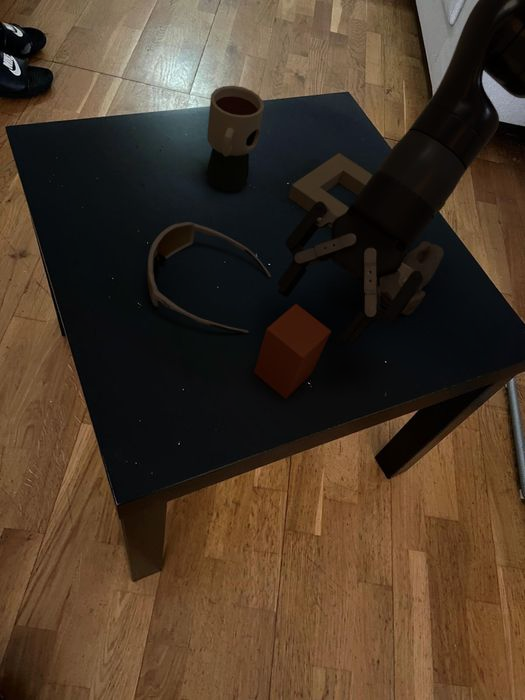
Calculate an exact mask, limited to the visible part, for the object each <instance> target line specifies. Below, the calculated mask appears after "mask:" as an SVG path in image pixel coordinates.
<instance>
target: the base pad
mask: <svg viewBox="0 0 525 700" xmlns="http://www.w3.org/2000/svg"><path fill="white" fill-rule="evenodd" d="M372 175H373V174H372V173H371V172H369V171H368V170H366V169H364V168H363V167H362V166H360V165H359V164H357V163H356V162H354V161H352V160H351V159H349V158H348V157H346V156H345V155H343V154H342V153H340V152H338V153H337V154H335V155H334V156H332V157H331V158H329V159H327V160H326V161H325V162H323V163H322V164H320V165H319V166H318V167H316V168H315V169H313V170H312V171H310V172H309V173H307V174H305V175H304V176H302V177H301V178H299V179H298V180H297V181H295V182H294V183H292V184H291V187H290V191H289V194H288V199H290V200H291V201H292V202H294V203H295V204H297V205H298V206H299V207H301V208H302V209H304V210H305V211H306V212H307V213H308V212H309V211H310V210H311V208H312V207H313V206H314V205H315V203H317V202H319V201H321V202H323V203H324V204H325V205H326V206H327V207H328V208H329V209H330V211H331V212H333V213H334V214H335V215H336V216H338V217H339V216H341V215H343V214H344V213H346V212H347V210H348V209H349V207H350V206H348V205H346V204H345V203H343V202H341V200H339V199H338V198H335V197H334V196H333V195H332V194H330V193H329V191H330V190H331V189H333V187H335V186H337V185H338V184H340V185H341V186H342V187H344V188H345V189H346V190H348V191H350V192H351V193H353V194H354V195H356V197H357V196H358V195H359V193H360V192H361V191H362V189H363V188H364V187H365V185H366V184H367V182H368V181H369V180H370V178H371V177H372ZM327 227H329V228H330V229H332V224H329V225H327Z"/></svg>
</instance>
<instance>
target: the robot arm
mask: <svg viewBox="0 0 525 700" xmlns="http://www.w3.org/2000/svg"><path fill="white" fill-rule="evenodd" d="M484 73H486V74H487V75H488V76H489V77H490V78H491V79H492V80H493V81H495V82H496V83H497V84H498V85H499V86H500V87H501V88H503V89H504V90H505V92H507V93H508V94H509V95H511V96H512V97H514V98H516V99H517V98H518V99H525V0H478V1H476V3H475V5H474V6H473V8H472V10H471V11H470V13H469V14H468V17H467V19H466V21H465V23H464V26H463V28H462V30H461V33H460V35H459V37H458V40H457V43H456V45H455V49H454V51H453V53H452V56H451V59H450V61H449V63H448V66H447V68H446V69H445V72H444V74H443V76H442V79H441V80H440V83H439V84H438V86H437V88H436V90H435V92H434V93H433V95H432V96H431V98H430V100H429V101H428V102H427V104H426V105H425V106H424V108H423V109H422V111H421V112H420V114H419V115H418V116H417V117H416V119H415V120H414V122H413V123H412V124H411V125H410V127H409V129H408V130H407V131H406V132H405V134H404V135H403V136H402V137H401V138H400V139H399V140H398V141H397V143H396V144H395V145H393V147H392V148H391V150H390V151H389V152H388V153H387V154H386V155H385V158H384V159H383V160H382V162H381V163H380V164H379V165H378V167H377V168H376V170H375V171H374V172H373V174H372V177H371V178H370V180H369V181H368V182H367V184H366V185H365V187H364V188H363V189H362V191H361V192H360V193H359V195H358V196H357V195H356V198H355V199H354V200H353V202H352V203H351V205H350V206H348V207H349V209H348V210H347V212H346V213H344V214H343V215H341V216H339V217H338V216H336V215H335V214H334V213H333V212H331V211H330V209H329V208H328V207H327V206H326V205H325V204H324V203H323V202H321V201H319V202H317V203H315V205H314V206H313V207H312V208H311V210H310V211H309V212H308V211H307V213H306V215H305V216H304V217H303V218H302V220H301V221H300V222H299V223H298V225H297V226H296V227H295V229H294V230H293V231H292V232H291V234H290V235H289V236H288V237H287V239H286V240H285V243H284V244H285V247H286V248H287V249H288V251H289V252H290V254H291V255H292V261H291V262H290V264H289V265H288V267H287V268H286V270H285V271H284V272H283V274H282V276H281V277H279V280H278V283H277V286H279V287H278V290H277V293H278V294H280V295H281V296H282V297H286V298H287V297H289V296H290V295H291V293H292V292H293V291H294V290H295V288H296V286H297V285H298V284H299V282H300V281H301V279H302V278H303V277H304V276H305V274H306V272H307V271H308V269H306V268H307V267H308V266H312V265H315V264H317V263H321V262H327V261H330V260H332V261H333V264H335V265H336V266H338V267H339V268H340V269H343V270H345V271H347V272H348V274H349V275H350V276H351V277H353V278H354V279H355V280H357V281H358V282H362V283H363V289H364V290H363V293H364V310H363V311H359V312H358V314H357V315H356V316H355V318H353V320H352V321H351V323H350V324H349V325H348V327H347V328H346V329H345V330H344V332H343V333H342V334H341V336H340V337H339V338H338V342H340V343H342V344H343V345H347V344H348V343H351V344H353V343H355V342H357V341H358V340H360V338H361V337H362V336H363V334H364V333H365V332H366V331H367V329H368V328H369V327H370V326H371V324H372V323H373V322H374V321H377V320H378V321H382V322H385V323H387V324H394V323H396V321H398V319H399V317H400V316H401V315H402V311H403V310H404V309H405V307H406V306H407V304H408V303H409V301H410V300H411V299H412V297H413V296H414V294H415V293H416V291H417V290H418V288H419V287H420V286H421V284H422V283H423V281H424V276H423V274H422V273H421V272H420V271H415V270H413V269H412V268H410V267H409V266H407V265H405V264H404V263H403V259H404V257H405V256H406V255H407V254H408V251H409V250H410V249H411V248H412V246H413V245H414V244H415V243H416V241H417V240H418V238H419V237H420V236H421V234H422V233H423V232H424V230H425V229H426V228H427V227H428V225H429V224H430V223H431V221H432V220H433V219H434V218H435V216H436V215H437V213H438V212H440V211H441V210H442V209H443V207H445V205H446V202H447V200H449V198H450V197H451V195H452V194H453V192H454V191H455V189H456V187H457V186H458V184H459V182H460V181H461V179H462V178H463V176H464V174H465V173H466V171H467V170H468V169H469V168H470V166H471V165H472V164H473V162H474V161H475V160H476V158H477V157H478V156H479V155H480V153H481V152H482V151H483V150H484V148H485V147H486V146H487V144H488V143H489V142H490V141H491V139H492V138H493V136H494V135H495V133H496V132H497V130H498V128H499V126H500V125H499V124H500V115H499V112H498V111H497V108H496V107H495V105H494V103H493V102H492V101H491V98H490V97H489V95H488V93H487V91H486V90H485V87H484V84H483V76H484ZM329 224H332V228H331V239H330V240H327V241H325V242H322V243H318V244H316V245H314V246H313V247H311V248H307V249H305V248H304V247H305V246H306V245H307V243H308V242H309V241H310V240H311V239H312V237H313V236H314V235H315V234H316V232H317V231H318V230H319V229H325V228H326V227H328V225H329ZM397 271H398V272H399V273H400V278H399V280H398V283H399V285H400V286H401V289H400V290H399V292H398V293H397V295H396V296H395V297H394V299H393V300H392V302H391V303H390V305H389V306H388V308H383V307H381V304H380V293H381V277H383V276H386V275H390V274H393V273H395V272H397Z"/></svg>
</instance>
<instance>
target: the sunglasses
mask: <svg viewBox="0 0 525 700" xmlns="http://www.w3.org/2000/svg"><path fill="white" fill-rule="evenodd" d="M196 232H198V233H201V234H204V235H205V236H212V237H213V236H214V237H218V238H220V239H223V240H225V241H226V242H229V243H230V244H231V245H233V246H234V247H236V248H237V249H239V250H241V251H243V252H245V254H247V255H248V256H249V257H250V258H251V259H253V261H255V262H256V264H257V266H259V268H260V269H261V270H262V271H263V273H264V275H265V276H266V277H268V278H272V275H271V274H270V272H269V270H268V269H267V268H266V266H265V265H264V264H263V262H262V261H261V260H260V259H259V257H258V256H257V255H255V254H254V252H253V251H252V250H250V249H249V248H248V247H247V246H245V245H243V244H241V243H240V242H238V241H237V240H235V239H232V238H231V237H229V236H227V235H225V234H223V233H221V232H219V231H217V230H214V229H212V228H210V227H206V226H203V225H201V224H198V223H194V222H192V221H185V222H179V223H174V224H172V225H170V226H168V227H166V228H165V229H164V230H163V231H161V232H160V233H159V234H158V236H156V238H154V241H153V242H152V244H151V247H150V249H149V253H148V259H147V268H146V278H147V287H148V291H149V292H148V293H149V296H150V301H151V302H152V304H153V306H154V307H157V308H158V307H159V303H158V302H160V303H161V304H162V305H164V307H166V308H167V309H170V310H173V311H176V312H177V313H179V314H182V315H184V316H186V317H188V318H190V319H192V320H194V321H195V322H197V323H199V324H203V325H206V326H210V327H212V328H217V329H221V330H223V331H229V332H234V333H237V334H247V333H249V330H247V329H241V328H237V327H233V326H228V325H225V324H221V323H217V322H214V321H212V320H207V319H205V318H202V317H199V316H196V315H195V314H192V313H190V312H188V311H187V310H185V309H183V308H181V307H180V306H178V305H176V303H174V302H173V301H171V299H169V298H167V297H166V296H165V295H164V294H162V293H161V292H160V291H159V290H158V286H157V284H156V282H155V275H158V274H159V273H160V268H159V267H160V266H159V263H158V260H159V261H160V262H166V261H167V260H168V259H169V258H170V257H171V256H173V255H175V254H176V253H178V252H180V251H181V250H184V249H185V248H187V247H190V246H192V245H193V244H194V239H195V233H196Z"/></svg>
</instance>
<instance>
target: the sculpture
mask: <svg viewBox="0 0 525 700" xmlns="http://www.w3.org/2000/svg"><path fill="white" fill-rule="evenodd" d="M444 253H445V251H444V249H443V248H442V246H440V245H439V244H435V243H431V242H430V241H427V240H422V241H420V242H419V244H418V245H417V246H416V247H414V248H413V249H411V250H410V251H409V252H407V253H406V254H405V256H404V259H403V263H404V264H405V265H407V266H409V267H410V268H412V269H413V270H415V271H420V272H421V273H422V274H423V276H424V281H423V283H422V284H421V286H420V287H419V288H418V290H417V291H416V293H415V294H414V296H413V297H412V299H411V300H410V301H409V303H408V304H407V306H406V307H405V309H404V310H403V311H402V313H401V315H404V316H410V315H411V314H412V313H413V312H415V310H416V309H417V307H418V306H420V304H421V303H422V301H423V299H425V296H426V292H425V291H424V290H422V289H423V288H425V286H426V285H428V284H429V283H430V281H431V280H432V279H433V277H434V275H435V273H436V271H437V269H438V267H439V265H440V263H441V260H442V258H443V257H444ZM399 278H400V273H399V272H398V271H397V272H395V273H393V274H390V275H386V276H383V277H381V293H380V306H382V307H384V309H387V308H388V306H389V305H390V303H391V302H392V300H393V299H394V297H395V296H396V295H397V293H398V292H399V290H400V289H401V286H400V285H399V283H398V280H399Z"/></svg>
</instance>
